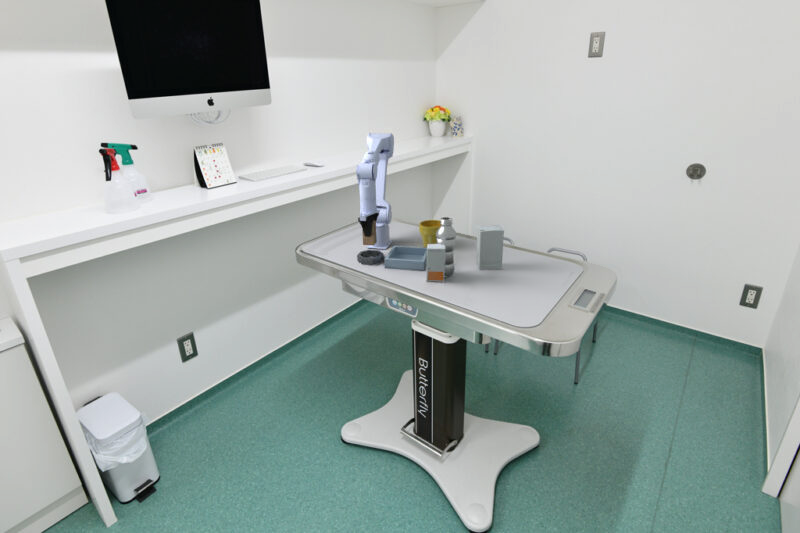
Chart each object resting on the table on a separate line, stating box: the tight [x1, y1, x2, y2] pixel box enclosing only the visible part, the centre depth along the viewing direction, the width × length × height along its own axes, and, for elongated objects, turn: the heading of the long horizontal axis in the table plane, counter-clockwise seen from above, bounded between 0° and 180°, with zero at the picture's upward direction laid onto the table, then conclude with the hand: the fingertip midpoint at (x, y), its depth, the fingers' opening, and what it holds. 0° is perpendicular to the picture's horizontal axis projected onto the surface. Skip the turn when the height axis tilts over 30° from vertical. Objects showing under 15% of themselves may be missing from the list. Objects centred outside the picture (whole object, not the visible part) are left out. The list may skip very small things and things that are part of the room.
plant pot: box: [418, 219, 441, 248], centre depth 179 cm, size 10×10×10 cm
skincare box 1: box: [425, 244, 446, 283], centre depth 149 cm, size 6×4×12 cm
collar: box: [356, 249, 385, 266], centre depth 167 cm, size 9×9×2 cm
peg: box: [361, 221, 377, 246], centre depth 164 cm, size 4×4×8 cm
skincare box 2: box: [476, 224, 505, 271], centre depth 158 cm, size 8×6×15 cm
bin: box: [384, 245, 427, 272], centre depth 165 cm, size 14×14×4 cm
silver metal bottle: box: [436, 216, 457, 278], centre depth 151 cm, size 6×7×20 cm
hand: (369, 234), depth 164 cm, fingers closed on peg, 4 cm apart
